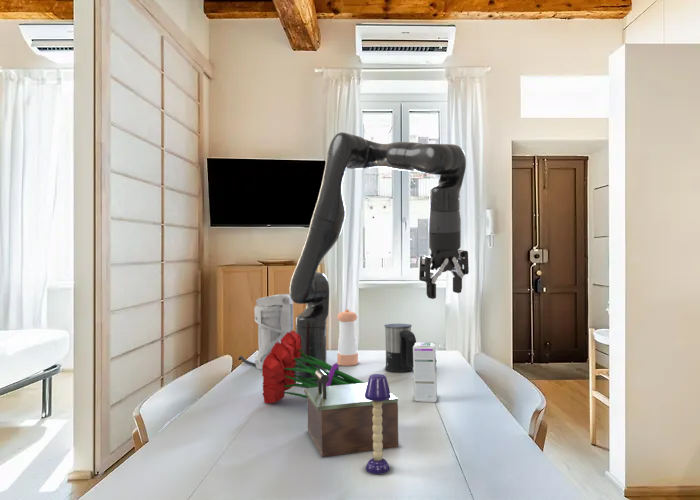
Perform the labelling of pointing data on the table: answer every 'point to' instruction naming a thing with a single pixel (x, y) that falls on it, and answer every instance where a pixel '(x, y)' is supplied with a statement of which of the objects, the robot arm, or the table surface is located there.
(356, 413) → the crate
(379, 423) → the toy lamp
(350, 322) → the pepper shaker
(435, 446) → the table surface
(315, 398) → the green lid with handle
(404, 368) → the milk frother
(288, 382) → the bouquet
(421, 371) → the syrup box
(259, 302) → the lantern
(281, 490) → the table surface
